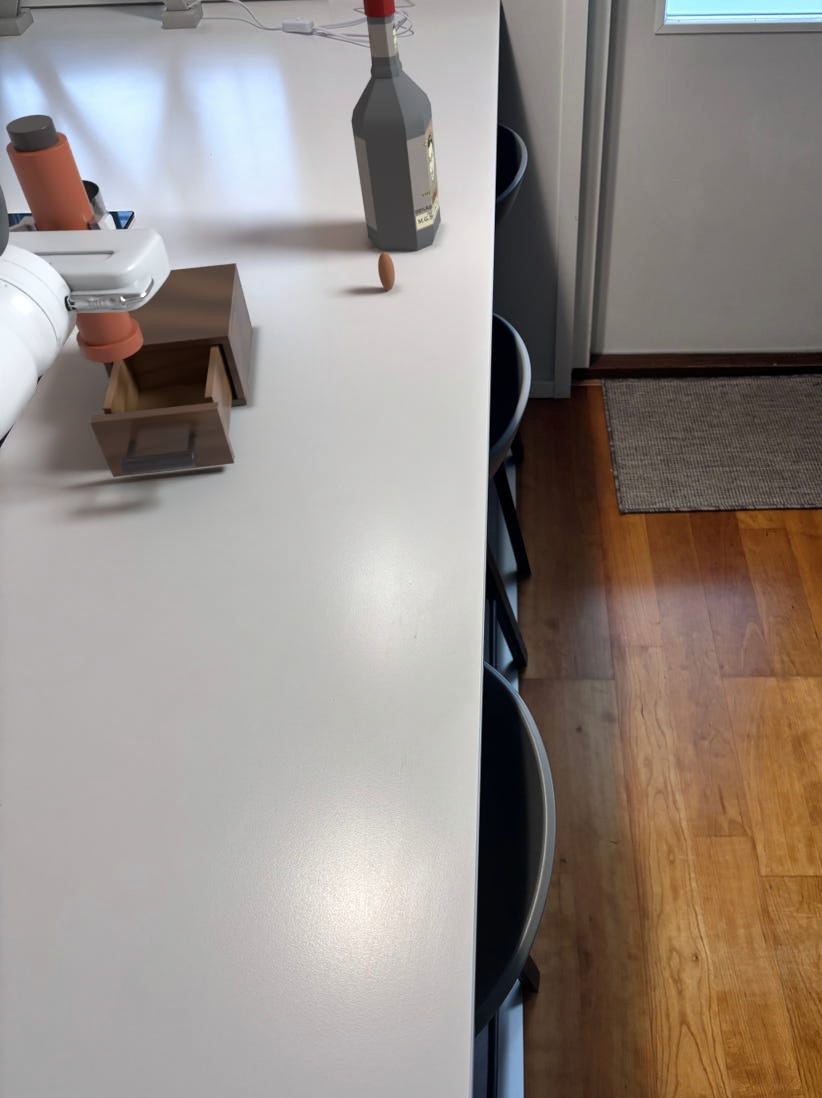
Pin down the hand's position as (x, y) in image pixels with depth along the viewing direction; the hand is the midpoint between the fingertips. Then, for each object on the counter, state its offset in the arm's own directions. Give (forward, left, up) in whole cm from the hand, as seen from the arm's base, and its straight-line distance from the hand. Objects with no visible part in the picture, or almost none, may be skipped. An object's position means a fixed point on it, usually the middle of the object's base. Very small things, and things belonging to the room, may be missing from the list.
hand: (71, 223), depth 85 cm
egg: (+26, +30, -26) cm, 48 cm away
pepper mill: (0, -1, -11) cm, 11 cm away
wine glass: (-10, +32, -26) cm, 43 cm away
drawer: (+2, +2, -25) cm, 25 cm away
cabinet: (+2, +16, -26) cm, 31 cm away
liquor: (+29, +44, -26) cm, 59 cm away
